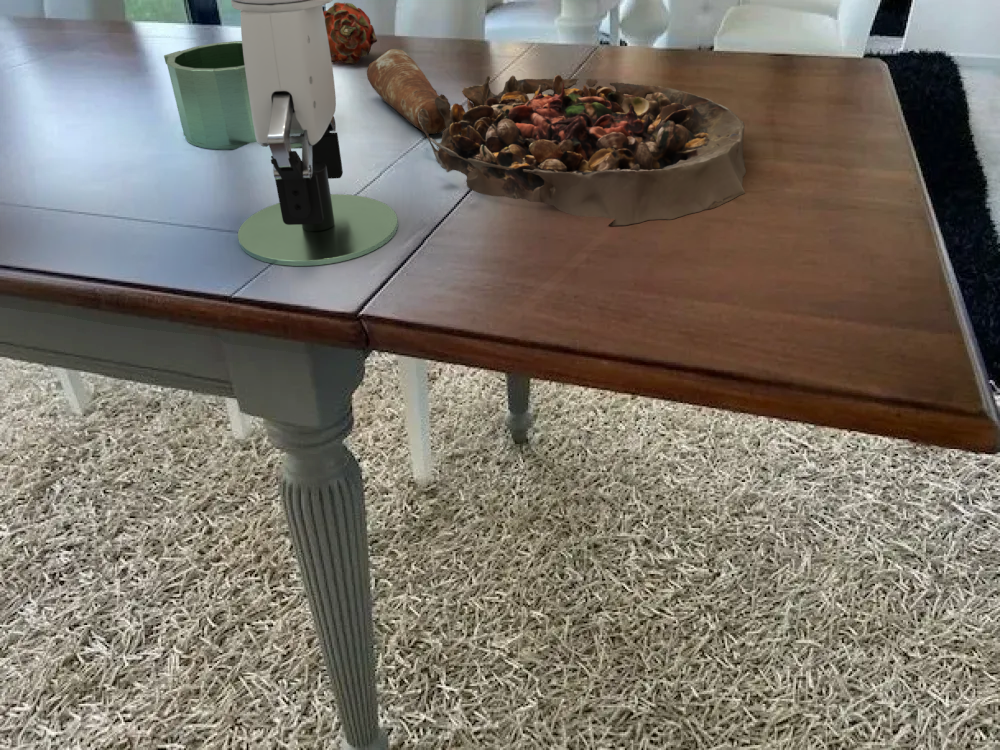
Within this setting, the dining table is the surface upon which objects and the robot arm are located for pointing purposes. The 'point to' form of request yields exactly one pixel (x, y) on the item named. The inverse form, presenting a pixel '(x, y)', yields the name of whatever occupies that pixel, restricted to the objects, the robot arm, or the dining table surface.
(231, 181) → the dining table surface
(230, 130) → the pot
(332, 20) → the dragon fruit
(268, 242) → the lid
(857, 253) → the dining table surface
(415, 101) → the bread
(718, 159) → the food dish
